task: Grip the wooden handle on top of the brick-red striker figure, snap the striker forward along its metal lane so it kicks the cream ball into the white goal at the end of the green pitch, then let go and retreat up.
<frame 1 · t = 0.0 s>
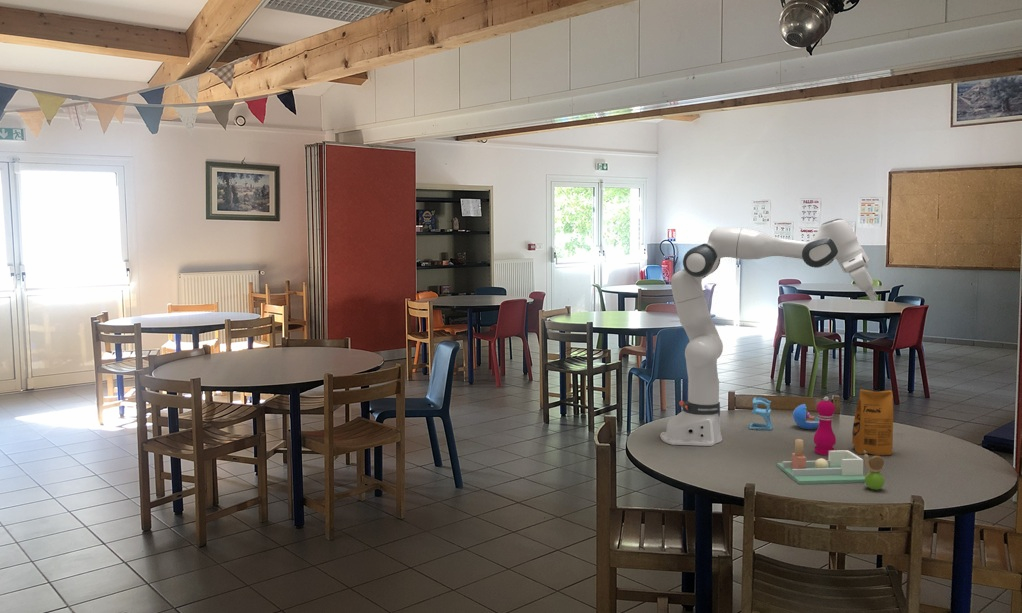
hand: (874, 299, 260), 54 cm above the table, tool tilted 30°, fingers open, 8 cm apart
pitch: (821, 473, 249), on the table
striker: (798, 455, 248), point 6 cm above the table, slide at 0.0 cm
snail figurine: (872, 489, 235), on the table
cell model: (808, 429, 303), on the table
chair: (761, 428, 304), on the table
ball: (821, 464, 249), point 3 cm above the table, touching pitch
pepper mill: (824, 453, 272), on the table
coffee package: (871, 452, 273), on the table
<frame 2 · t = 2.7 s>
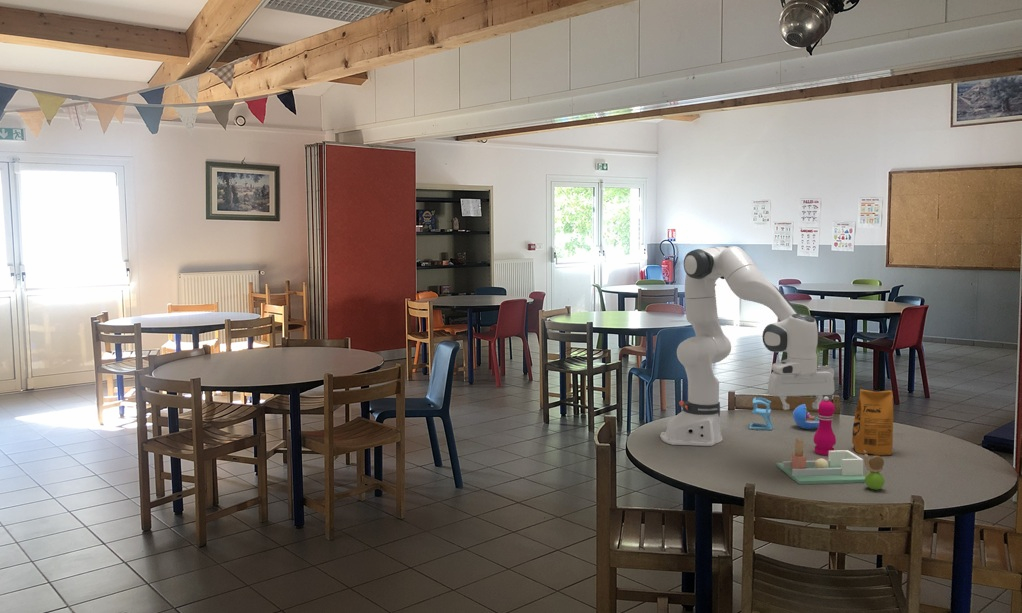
hand: (800, 409, 247), 21 cm above the table, tool pointing down, fingers open, 8 cm apart
nothing on the table moved.
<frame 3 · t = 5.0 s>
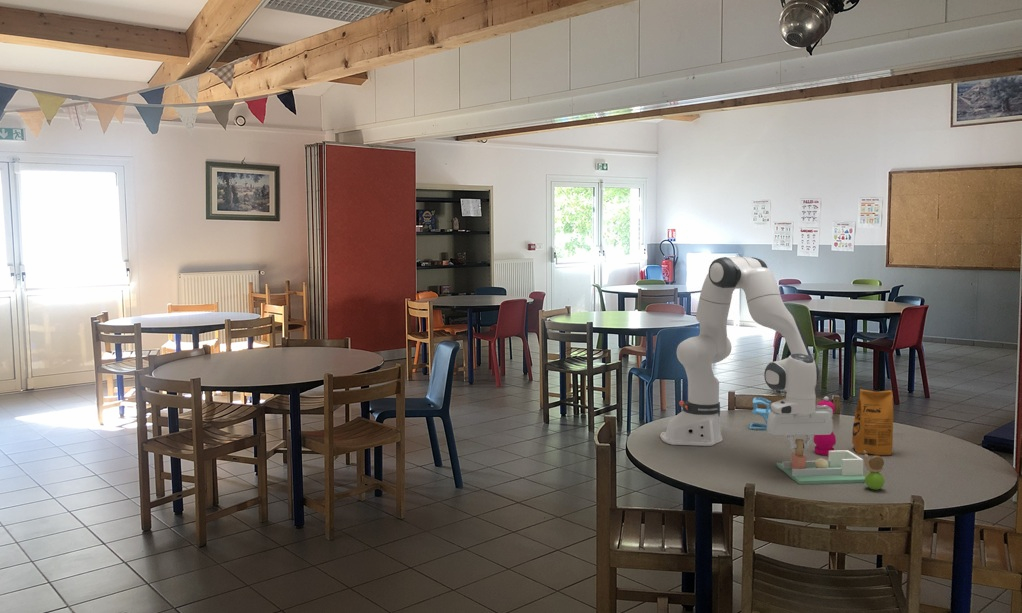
hand: (799, 448, 248), 9 cm above the table, tool pointing down, fingers closed on striker, 2 cm apart
striker: (798, 455, 248), point 6 cm above the table, slide at 0.0 cm, touching gripper
everything else where it was.
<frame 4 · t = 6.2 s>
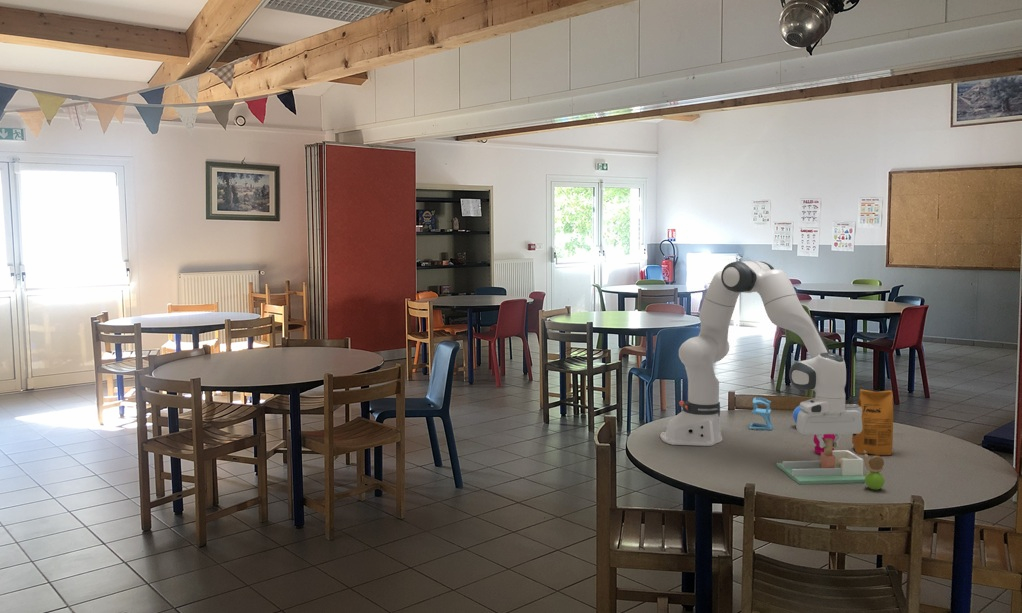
hand: (828, 447, 248), 9 cm above the table, tool pointing down, fingers closed on striker, 2 cm apart
striker: (828, 454, 249), point 6 cm above the table, slide at 9.5 cm, touching gripper
ball: (844, 464, 249), point 3 cm above the table, tilted 154°, touching pitch
everything else where it was.
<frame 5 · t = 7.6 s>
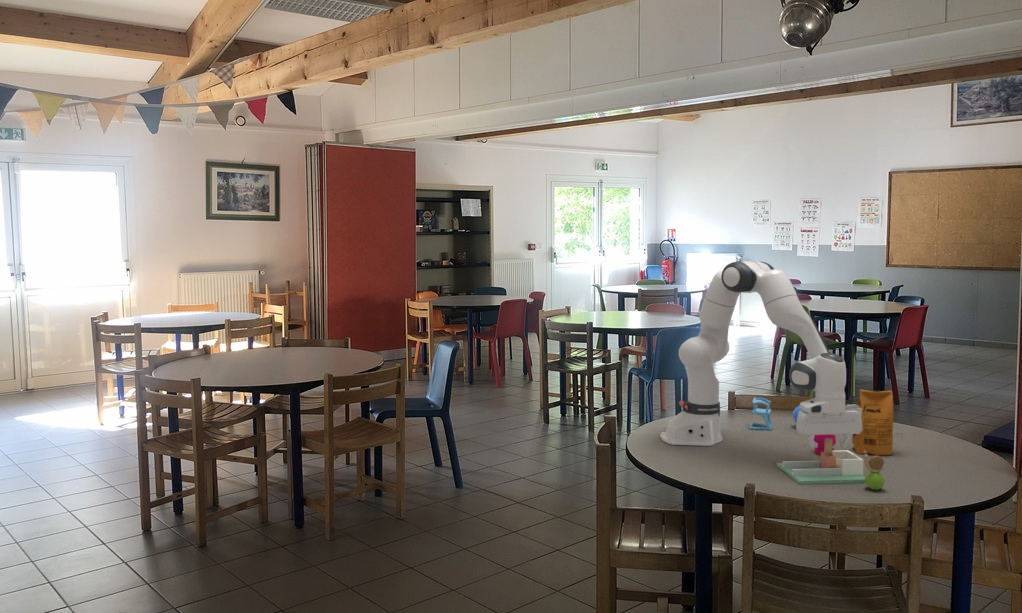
hand: (828, 447, 249), 9 cm above the table, tool pointing down, fingers open, 8 cm apart
striker: (828, 454, 249), point 6 cm above the table, slide at 9.5 cm
ball: (837, 464, 249), point 3 cm above the table, tilted 146°, touching pitch
everything else where it was.
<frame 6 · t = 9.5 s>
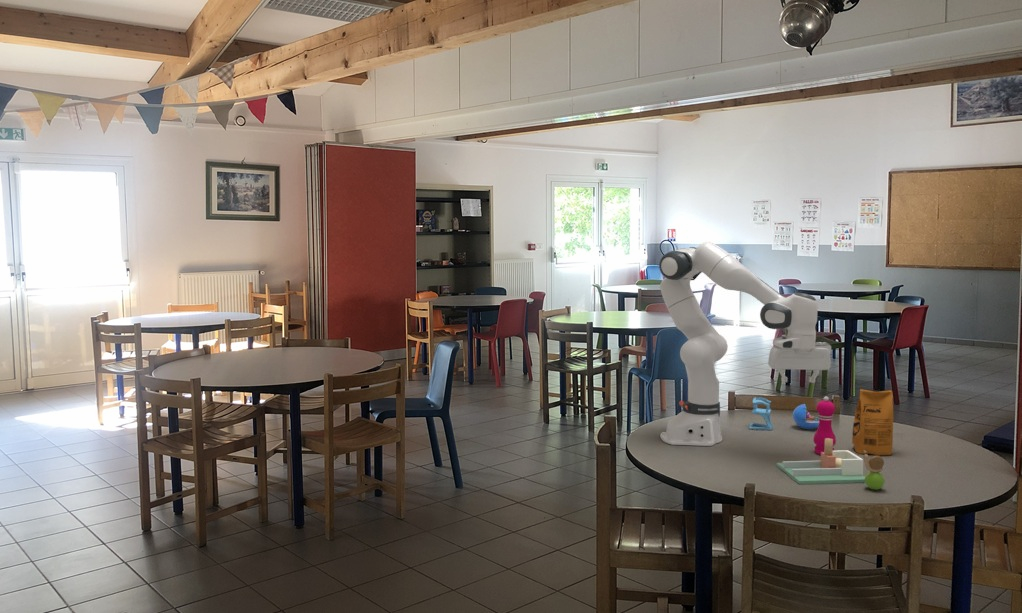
hand: (798, 382, 263), 26 cm above the table, tool pointing down, fingers open, 8 cm apart
ball: (838, 464, 249), point 3 cm above the table, tilted 155°, touching pitch
everything else where it was.
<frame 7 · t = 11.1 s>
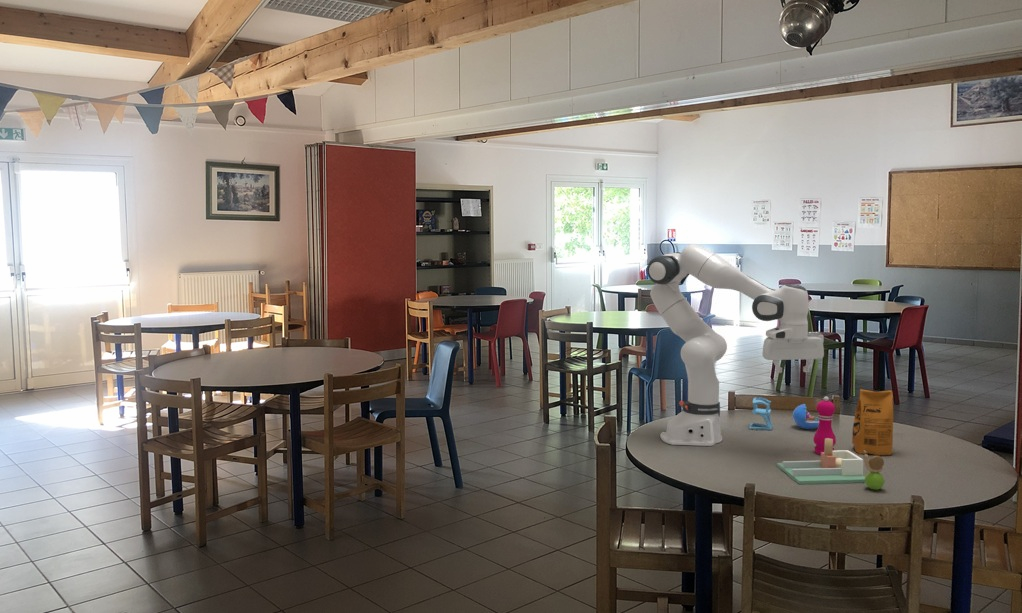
hand: (792, 372, 266), 29 cm above the table, tool pointing down, fingers open, 8 cm apart
ball: (839, 464, 249), point 3 cm above the table, tilted 163°, touching pitch
everything else where it was.
at the end: ball 1.1 cm from the target spot on the pitch, point 3.0 cm above the pitch's base; striker slide at 9.5 cm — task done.
